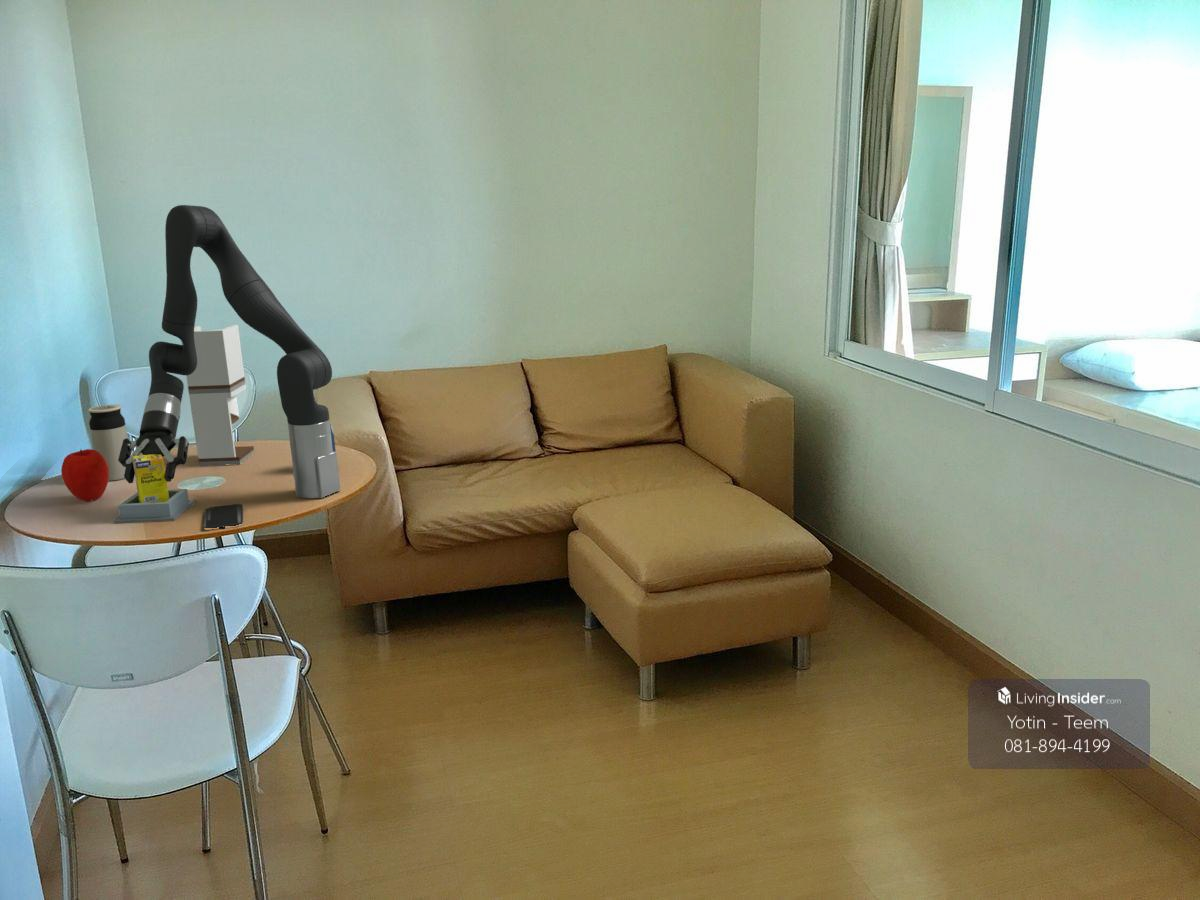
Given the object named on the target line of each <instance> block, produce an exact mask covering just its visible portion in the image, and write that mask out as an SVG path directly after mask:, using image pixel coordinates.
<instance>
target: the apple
mask: <svg viewBox="0 0 1200 900" xmlns="http://www.w3.org/2000/svg"><path fill="white" fill-rule="evenodd" d="M60 474H61V478H62V481H63V483H64V485H65V487H66V488H67V490H68V491H69V493H71V494H72V495H73V496H74V497H75V498H77V499H78V500H81V501H84V502H92V501H91V500H93V501H96V500H98V499H100V498H101V497H102V496H103V495H104V493H105V492H106V489H107V487H108V483H109V481H108V480H109V469H108V465H107V463H106V461H105V459H104V457H103V456H102V455H101V454H100V453H99V452H98V451H95V450H94V449H93V448H92V449H90V448H86V449H83V450H82V448H80V449H79V451H74V452H71V453H69V454H67V455H66V456H65V457H64V458H63V461H62V464H61V473H60Z"/></svg>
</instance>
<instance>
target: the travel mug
mask: <svg viewBox="0 0 1200 900" xmlns="http://www.w3.org/2000/svg"><path fill="white" fill-rule="evenodd" d="M121 408H122V405H120V404H103V405H98V406H92V407H90V408H88V410H87V411H88V412H89V414H90V419H89V422H88V425H89V431H90V435H91V442H92V450H95V451H98V452H99V453H100V454H101V455H102V456H103V457H104V459H105V461H106V463H107V465H108V469H109V480H108V482H115V481H116V482H117V481H122V480H124V479H125V478H124V474H125V469H126V467H123V465H122V464H121V463H120V462H119V461H118V458H119V455H120V451H121V447H122V443H123V440H124V439H126V438H127V439H129V438H128V431H127V425H126V420H125V417H124V416H123V415H122V413H121V410H122V409H121ZM131 456H132V455H131ZM131 456H130V457H131ZM125 480H126V479H125Z"/></svg>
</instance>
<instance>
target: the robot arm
mask: <svg viewBox="0 0 1200 900" xmlns="http://www.w3.org/2000/svg"><path fill="white" fill-rule="evenodd" d="M164 231H165V233H164V235H165V239H164V240H165V263H166V264H165V267H166V268H165V269H166V285H165V287H166V288H165V299H164V305H163V306H164V307H163V313H162V320H161V329H162V331H163V332H165V333H166V334H169V335H171V336H174V337H176V338H178V339H179V340H180V341H182V342H181V344H178V343H175V342H174V343H172V342H167V341H156V342H155V343H153V344H152V345H151V346H150V348H149V351H148V362H149V369H150V374H151V375H150V376H151V377H150V379H151V380H150V386H149V390H148V391H149V392H148V398H147V400H146V403H145V406H144V410H143V415H142V417H141V418H142V419H141V424H140V428H139V436H138V438H137V439H136V440H130V439H129V438H128V439H127V438H126V439H124V440H123V443H122V447H121V451H120V455H119V458H118V461H119V462H120V463H121V464H122V465H123V467H126V469H125V474H124V478H125V481H126V482H127V483H128V484H133V483H134V479H135V472H134V466H133V460H132V457H133V456H140V454H141V455H149V454H161V455H162V457H163V458H164V457H165V458H166V460H167V462H166V465H165V475H164V478H165V480H166V481H167V483H169V482H170V483H171V482H172V480H173V479H174V478H175V474H176V468H177V467H178V466H179V465H182V466H183V465H186V464H187V461H188V460H187V459H188V453H189V452H188V451H189V445H190V443H189V441H188V439H187V438H186V437H185V436H184V435H181V436H180V437H179V438H176V437H177V432H178V426H179V422H180V421H179V420H180V419H181V405H182V400H183V394H184V390H185V387H184V386H185V385H184V382H183V380H182V379H181V378H179V377H177V376H175V375H180V376H186V375H190V374H192V373H193V372H194V371H195V369H196V367H197V354H196V348H195V342H194V327H196V326H195V324H196V319H197V311H198V295H197V290H196V286H195V283H194V280H193V277H192V270H191V262H192V261H191V260H192V254H193V251H194V248H200V249H201V250H203V251H204V253H205V254H206V255H207V256H208V257H209V259H211V261H212V262H213V264H214V265H215V266H216V268H217V270H218V273H219V278H220V283H221V284H220V285H221V289H222V293H223V295H224V298H225V300H226V302H228V304H229V305H230V306H231V308H232V309H233V311H234V312H235V313H236V314H237V316H238V317H239V318H240V319H241V320H242V321H243V323H245V324H246V325H248V326H249V327H250V328H252V330H253V329H254V330H255V331H256V332H258V333H259V334H261V335H263V336H264V337H266V338H268V339H269V340H271V341H272V342H273V343H275V344H276V345H277V346H279V347H280V348H281V349H282V351H283V352H284V353H285V355H283V356H281V358H280V359H279V361H278V364H277V367H276V379H277V387H278V391H279V397H280V403H281V408H282V410H283V412H284V414H285V416H286V420H287V428H288V429H287V430H288V435H289V437H288V438H289V446H290V452H291V453H290V454H291V463H292V471H293V478H294V487H295V489H294V490H295V495H296V497H298V498H300V499H324V498H326V497H325V496H327V495H329V494H331V493H333V492H336V491H338V490H340V491H341V484H340V475H339V466H338V465H339V463H338V456H337V452H333V448H332V439H331V429H330V424H331V422H330V412H329V408H328V407H327V406H326V405H324V404H318V403H317V402H316V399H315V398H316V397H315V394H314V393H315V392H314V390H318V389H321V388H323V387H325V386H327V385H328V384H329V383H330V382H331V380H332V378H333V369H332V365H331V362H330V361H329V358H328V357H327V356H326V354H325V353H324V352H323V350H322V349H321V348H320V347H319V346H318V345H317V344H316V343H315V342H314V341H313V340H312V339H311V337H309V336H308V335H307V333H305V331H304V330H303V329H302V328H301V327H300V326H299V325H298V323H296V321H295V320H294V319H293V317H292V316H291V314H289V312H288V311H287V310H286V308H285V307H284V306H283V305H282V303H281V302H280V301H279V299H278V298H277V297H276V295H275V294H274V292H273V291H272V289H271V288H270V287H269V286H268V284H267V283H266V282H265V281H264V280H263V278H262V277H261V276H260V275H259V274H258V272H257V271H256V269H255V268H254V267H253V266H252V264H251V263H250V261H249V260H248V259H247V258H246V256H245V255H244V254H243V252H242V251H241V250H240V248H239V246H238V244H236V241H234V239H233V237H232V235H231V234H230V232H229V230H228V228H227V227H226V226H225V224H224V222H223V221H222V219H221V217H219V215H218V214H217V213H216V212H215V211H214V210H213V209H211V208H209V207H205V206H201V205H191V204H190V205H188V204H178V205H174V207H172V208H171V209H170V210H169V212H168V213H167V216H166V219H165V230H164ZM182 343H183V345H182ZM176 446H177V454H176V456H175V457H174V456H173V455H172V453H171V451H172V450H173V449H174V448H175V447H176ZM130 456H131V457H130ZM329 496H330V495H329ZM323 497H324V498H323ZM327 497H328V496H327Z"/></svg>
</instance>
